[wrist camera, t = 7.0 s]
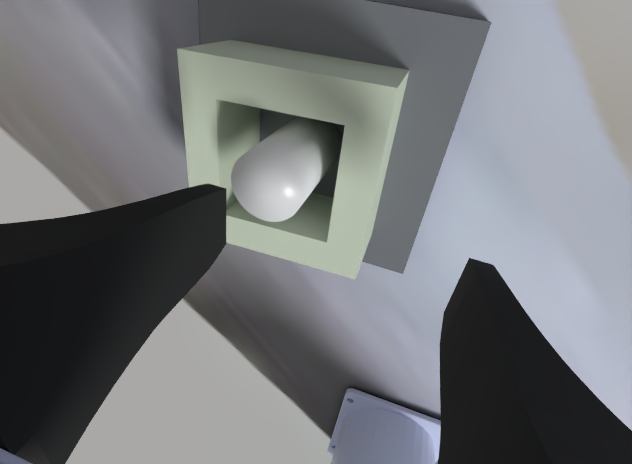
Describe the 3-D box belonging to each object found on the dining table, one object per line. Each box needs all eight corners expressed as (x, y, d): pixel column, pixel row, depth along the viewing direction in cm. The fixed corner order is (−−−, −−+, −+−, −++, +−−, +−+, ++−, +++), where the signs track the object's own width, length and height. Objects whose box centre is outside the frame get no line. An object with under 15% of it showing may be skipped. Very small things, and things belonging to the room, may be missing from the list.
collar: (371, 233, 19) (355, 279, 16) (233, 197, 21) (193, 233, 18) (409, 69, 15) (397, 88, 12) (230, 39, 17) (176, 48, 13)
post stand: (404, 263, 21) (388, 351, 16) (214, 206, 23) (142, 266, 18) (489, 21, 14) (510, 31, 9) (209, -28, 16) (94, -42, 11)
